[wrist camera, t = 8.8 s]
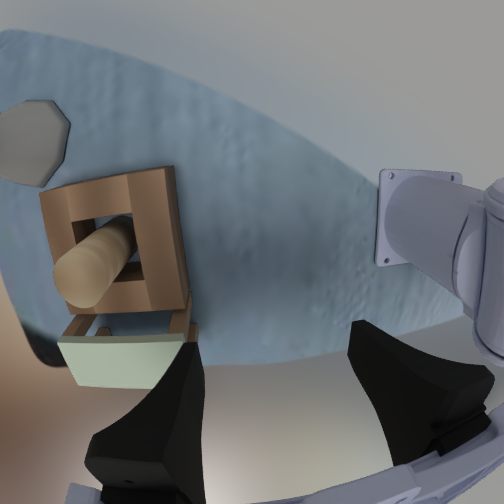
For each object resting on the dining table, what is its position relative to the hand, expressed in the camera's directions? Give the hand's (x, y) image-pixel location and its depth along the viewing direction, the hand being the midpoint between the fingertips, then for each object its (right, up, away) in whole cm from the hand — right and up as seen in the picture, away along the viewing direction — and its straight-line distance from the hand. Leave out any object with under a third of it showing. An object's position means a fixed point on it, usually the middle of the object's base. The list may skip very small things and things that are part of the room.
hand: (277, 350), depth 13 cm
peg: (-11, +6, +7) cm, 14 cm away
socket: (-11, +6, +7) cm, 14 cm away
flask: (-18, +13, +4) cm, 23 cm away
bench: (-10, -1, +10) cm, 14 cm away
